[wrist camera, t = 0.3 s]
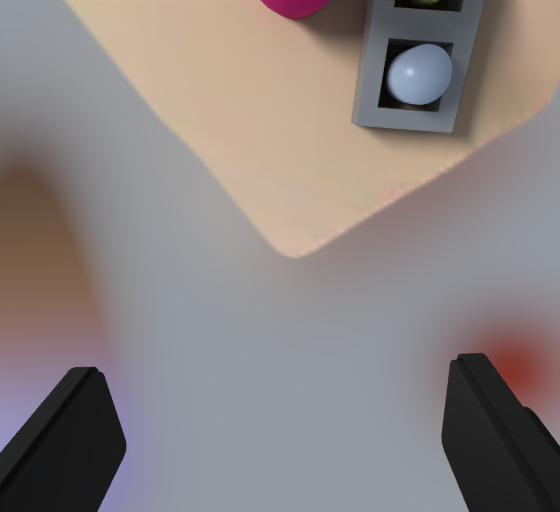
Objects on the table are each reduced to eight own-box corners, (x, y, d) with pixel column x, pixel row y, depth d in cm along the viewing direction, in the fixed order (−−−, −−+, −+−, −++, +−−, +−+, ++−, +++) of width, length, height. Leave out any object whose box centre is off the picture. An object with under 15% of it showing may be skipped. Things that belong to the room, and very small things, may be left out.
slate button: (389, 47, 30) (402, 42, 27) (439, 51, 30) (458, 46, 27) (381, 101, 32) (391, 102, 28) (427, 104, 32) (444, 106, 28)
